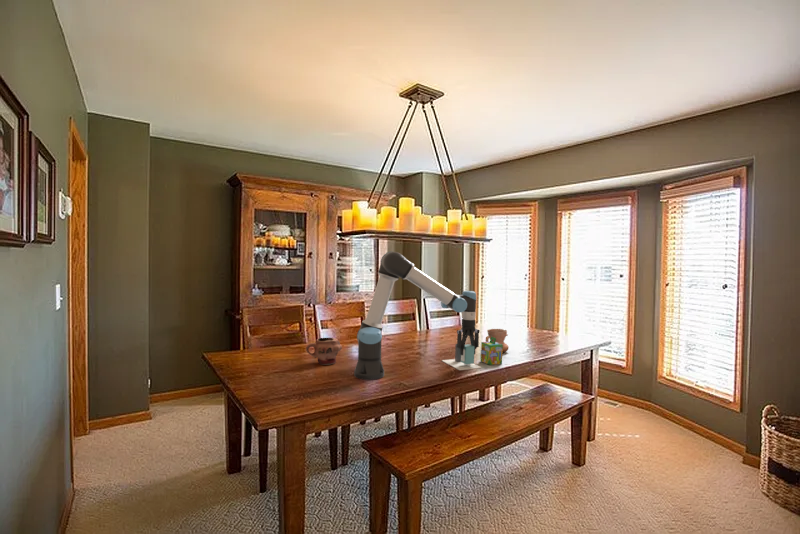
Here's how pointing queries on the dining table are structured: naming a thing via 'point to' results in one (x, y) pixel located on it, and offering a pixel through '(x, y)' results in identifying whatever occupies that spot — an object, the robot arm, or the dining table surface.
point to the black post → (457, 354)
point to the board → (460, 365)
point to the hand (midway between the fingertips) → (467, 360)
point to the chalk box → (491, 352)
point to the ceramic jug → (498, 337)
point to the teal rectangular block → (469, 354)
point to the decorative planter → (325, 350)
